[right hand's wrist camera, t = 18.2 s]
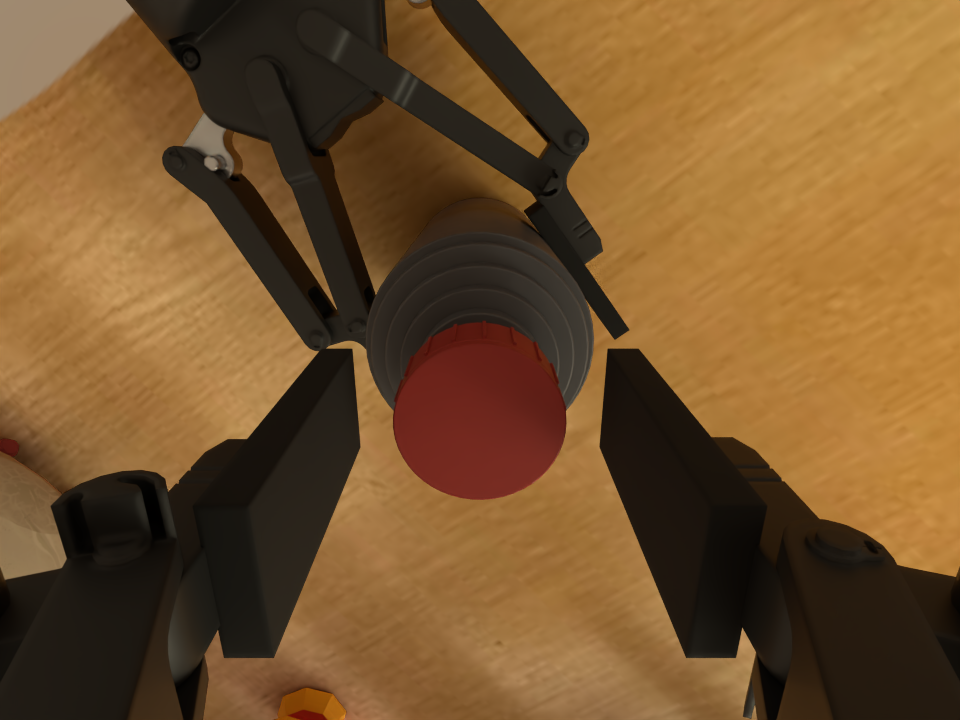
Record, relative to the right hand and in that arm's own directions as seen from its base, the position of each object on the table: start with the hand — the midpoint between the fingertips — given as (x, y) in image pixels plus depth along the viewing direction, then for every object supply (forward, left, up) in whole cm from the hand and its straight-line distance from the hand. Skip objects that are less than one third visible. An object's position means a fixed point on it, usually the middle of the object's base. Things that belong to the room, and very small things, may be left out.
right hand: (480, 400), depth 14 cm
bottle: (0, 0, -18) cm, 18 cm away
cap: (0, 0, +1) cm, 1 cm away
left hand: (0, -5, -12) cm, 13 cm away
